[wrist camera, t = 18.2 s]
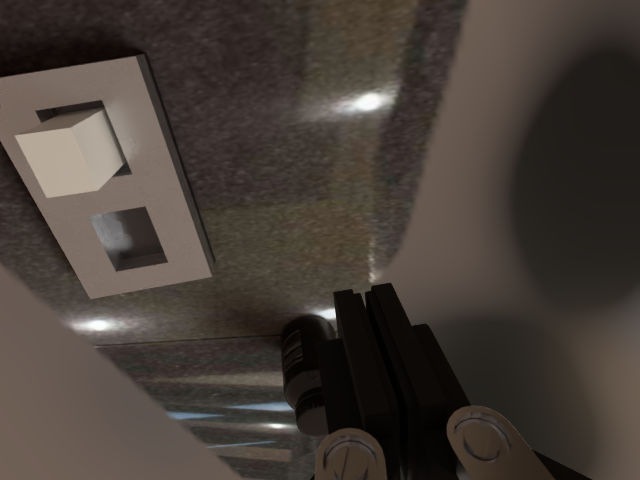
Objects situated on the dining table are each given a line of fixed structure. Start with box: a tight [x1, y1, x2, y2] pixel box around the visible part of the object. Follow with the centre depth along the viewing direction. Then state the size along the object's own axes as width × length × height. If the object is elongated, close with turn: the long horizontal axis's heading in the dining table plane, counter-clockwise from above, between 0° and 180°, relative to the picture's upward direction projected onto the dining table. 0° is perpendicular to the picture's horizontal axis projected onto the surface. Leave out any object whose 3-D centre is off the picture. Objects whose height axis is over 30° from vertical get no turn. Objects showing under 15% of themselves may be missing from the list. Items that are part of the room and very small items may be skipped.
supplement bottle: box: [281, 316, 337, 437], centre depth 42 cm, size 7×7×12 cm
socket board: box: [0, 53, 215, 299], centre depth 34 cm, size 20×12×3 cm, turn 8°
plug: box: [14, 107, 127, 198], centre depth 29 cm, size 4×4×7 cm
